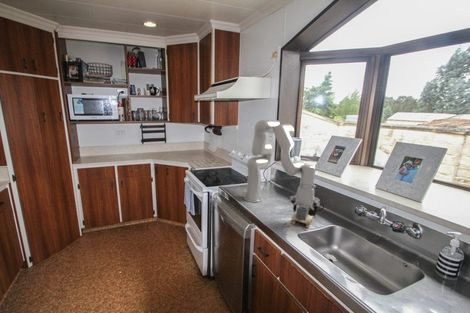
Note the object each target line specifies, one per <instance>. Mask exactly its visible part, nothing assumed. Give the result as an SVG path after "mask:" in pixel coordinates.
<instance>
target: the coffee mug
mask: <svg viewBox="0 0 470 313" xmlns="http://www.w3.org/2000/svg"><path fill="white" fill-rule="evenodd" d="M314 199H315V200H316V201H318V202H319V203H320V199H319V198H318V197H315V196H314ZM313 205H314V206H316V205H317V204H316V203H315V202H314V203H313ZM320 205H321V206H322V208H321V209H318V207H319V206H318V207H317V208H316V209H314V213H313V215H312V216H316V214H317V212H320V211H323V209H324V208H325V207H324V204H323V203H320ZM305 206H307V205H305ZM310 213H311V207H310V206H309V213H308V215H310Z"/></svg>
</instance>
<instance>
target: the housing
mask: <svg viewBox="0 0 470 313" xmlns="http://www.w3.org/2000/svg"><path fill="white" fill-rule="evenodd" d="M296 212H297V213H296ZM296 212H295V213H296V218H298V219H302V220H306V218H307V217H308V213H309V206H306V205H302V204H299V205H298V207H296Z"/></svg>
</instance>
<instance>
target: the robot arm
mask: <svg viewBox="0 0 470 313" xmlns="http://www.w3.org/2000/svg"><path fill="white" fill-rule="evenodd" d="M253 133H254V134H253V141H252V145H251V146H252V147H251V154H252V155H253V156H254V157H250V158H249V159H248V161H247V163H246V164H247V182H246V191H243V190H242V191H241V195H242V196H243V199H244V200H245V201H246V202H248V203H258V202H261V201H262V197H260V192H261V191H260V190H261V180H262V179H261V178H262V174H261V172H260V171H261V170H267V169H268V168H269V167H270V165H271V160H272V156H273V146H272V144H271V143H270V142H268V141H267V142H266V140H267V136H266V133H267V134H269V133H271V134H272V133H273V134H274V136H275V138H276V141H277V143H278V145H279V147H280V150H281V152H280V163H281V165H282V168H283V170H284V172H285V173H286V174H287V175H288V176H297V175H300V182H299V186H298V187H297V190H296V194H295V195H291V196H289V200H290V202H291V203H292V205H293V207H292V209H293V213H296V212H297V208H298V207H297V206H298V205H305V206H306V205H307V206H310V207H311V213H310V216H314V215H313V213H314V209H316V208H317V207H319V206H320V205H321V204H320V201H319V202H318V201H316V200H315V199H314V197H315V189H316V187H317V185H315V184H314V183H315V176H316V167H315V166H314V165H313V164H309V163H307V162H304V161H294V162H293V161H292V158H291V155H290V154H291V150H292V149H293V148H294V147H295V143H294V140H293V138H292V137H293V136H294V135H295V129H294V127H293V125H291V124H289V123H286V122H283V121H280V120H277V119H261V120H258V121H257V122H256V123H255V126H254V131H253ZM294 199H295V200H294ZM314 202H315V203H316V204H317V205H316V206H314V205H313V203H314ZM317 209H318V208H317Z"/></svg>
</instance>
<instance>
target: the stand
mask: <svg viewBox="0 0 470 313" xmlns="http://www.w3.org/2000/svg"><path fill="white" fill-rule="evenodd" d="M296 213H297V211H295V212H294V214H293V216H292V217H291V223H290V224H291V225H295V224H296V222H299V223H303V224H305V229H308V230H309V229H310V226H311V224H312V223H313V218H314V215H312V216H310V215H308V217H307V218H306V220H302V219H298V218H296Z"/></svg>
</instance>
